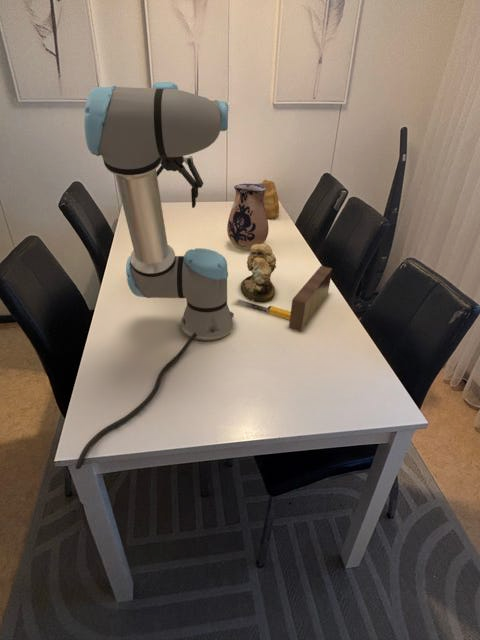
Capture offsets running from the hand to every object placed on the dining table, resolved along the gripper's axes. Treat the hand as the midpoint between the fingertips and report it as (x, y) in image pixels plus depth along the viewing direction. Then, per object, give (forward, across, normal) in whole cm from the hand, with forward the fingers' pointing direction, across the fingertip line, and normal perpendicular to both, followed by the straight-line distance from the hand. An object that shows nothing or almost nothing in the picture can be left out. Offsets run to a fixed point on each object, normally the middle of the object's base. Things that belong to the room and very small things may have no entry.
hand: (174, 204), depth 136 cm
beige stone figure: (+22, -32, +15) cm, 42 cm away
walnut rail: (+20, -50, +25) cm, 59 cm away
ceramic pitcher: (+28, -24, -24) cm, 44 cm away
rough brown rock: (+33, -27, -68) cm, 80 cm away
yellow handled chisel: (+20, -35, +28) cm, 49 cm away
